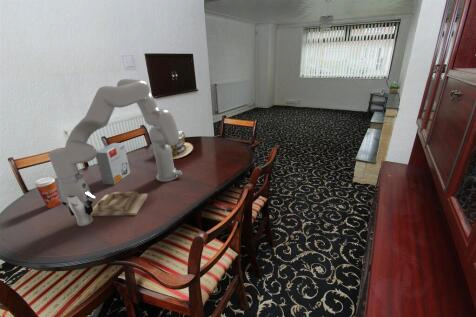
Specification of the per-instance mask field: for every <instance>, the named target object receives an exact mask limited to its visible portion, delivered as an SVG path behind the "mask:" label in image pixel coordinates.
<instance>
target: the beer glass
mask: <svg viewBox="0 0 476 317" xmlns="http://www.w3.org/2000/svg"><path fill="white" fill-rule="evenodd" d="M66 197H67V196H66ZM67 201H68V204H69V207H70V209H71V210H72V212H73V213H74V215H73V216H75V218H76V222H77V223H76V224H77V226H79V227H83V226H88V225H90V224H91V223H92V222H93V221H94V216H91V214H90V215H87V212H86V209H85V208H86V206H85V205H84V203H81V201H80V200H79V199H78V197H77V196H75V197H67ZM86 202H87V203H88V201H86Z"/></svg>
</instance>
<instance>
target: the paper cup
mask: <svg viewBox="0 0 476 317" xmlns="http://www.w3.org/2000/svg"><path fill="white" fill-rule="evenodd" d="M55 181H56V179H54V177H52V176H46V177H42V178H39V179H37V180H36V181H35V182H34V187H36V189H37V190H38V192H39V194H40V196H41V198H42V200H43V202H44V204H45V206H46V208H49V209H51V208H52V209H53V208H56V207H58V206H60V205H61V204H62V203H61V202H60V201H58V199H59V198H60V196H59V195H60V194H59V192H58V191H59V190H58V189H57V188H58V187H57V186H56V182H55Z"/></svg>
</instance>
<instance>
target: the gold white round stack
mask: <svg viewBox="0 0 476 317" xmlns="http://www.w3.org/2000/svg"><path fill="white" fill-rule="evenodd" d="M178 132H179V141H178V143H177V144H175V145H172V146H171V150H172V156H173V160H175V159H180V158H183V157H186V156H187V155H189V154H190V153H191V152H192V151H193V150H194V146H193V144H192V143H190V142H185V138H186V134H185V133H184V130H178Z"/></svg>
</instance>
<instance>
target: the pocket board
mask: <svg viewBox="0 0 476 317" xmlns="http://www.w3.org/2000/svg"><path fill="white" fill-rule="evenodd" d="M147 197H148V193H138V192H137V191H111V192H110V193H109V194H105V195H103V197H102V198H101V199H100V200H99V201H98V202H97V203H96V204H95V205H94V206H93V207H92V208H93V212H92V213H91V216H92V217H97V216H98V217H100V216H102V217H103V216H105V217H106V216H136V215H137V214H138V212H139V210H140V209H141V207H142V206H143V204H144V202H145V201H146V200H147Z"/></svg>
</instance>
